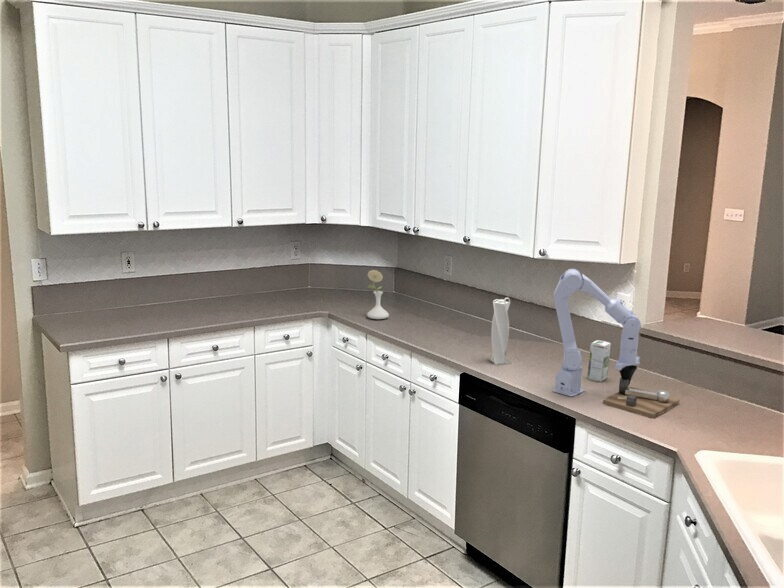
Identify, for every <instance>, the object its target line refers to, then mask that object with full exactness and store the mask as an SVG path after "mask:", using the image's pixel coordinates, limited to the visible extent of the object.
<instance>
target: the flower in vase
mask: <svg viewBox="0 0 784 588" xmlns="http://www.w3.org/2000/svg"><path fill="white" fill-rule="evenodd" d="M366 276H367V278H369V280H370V281H372V282H373V284H368V285H367V288H369V289H373V290H374V289H375V291H373V294H374V296H375V306H374V307H373V308H372V309H370V310H369V311H368V312H367V313H366V316H367V317H368V318H369V319H373V320H383V319H387V318H389V317H390V314H389V313H388V311H387V310H385V309H384V308H383V307H382V306H381V299H382V298H381V297H382V295H383V293H384V292H383V291H380V290H381V289H382V287H384V285H383V286H382V285H381V286H378V287H377V288H376V286H375V283H379V282H382V280H383V278H384V277H383V274H382V273H381V272H380V271H378V270H375V269H371V270H369V271H368V273H367V275H366Z"/></svg>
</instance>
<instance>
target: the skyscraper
mask: <svg viewBox="0 0 784 588" xmlns="http://www.w3.org/2000/svg"><path fill="white" fill-rule="evenodd" d="M506 300H508V301H506ZM492 305H493V316H492V320H491V333H490V334H491V335H490V336H491V349H492V354H491V357H490V358H489V361H490V362H491V361H492V362H491V363H492V364H494V365H495V364H498V365H512V363H511V362H510V361H509V360H507V347H508V342H509V336H510V335H509V334H510V319H509V313H508V311H509V308H510V305H511V299H510V298H509V297H504V299H498V298H496V299H494V300H493V301H492Z"/></svg>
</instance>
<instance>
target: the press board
mask: <svg viewBox="0 0 784 588" xmlns="http://www.w3.org/2000/svg"><path fill="white" fill-rule="evenodd" d="M628 388H631V389H636V390H642V391H646V390H645V389H641V388H637V387H633V386H628ZM647 391H648V390H647ZM648 392H650V391H648ZM602 404H603V405H605V406H610V407H612V408H616V409H620V410H623V411H626V412H629V413H633V414H636V413H637V415H639V414H641V415H640V416H643V415H644V416H643V417H646V416H647V418H650V417H651V418H650V419H653V418H654V419H656V418H657V417H659V416H661V415H662V413H663V412H664V413H665V411H666V412H668V411H670V410H671V409H673V408H674V407H676V406H678V405H680V399H678V398H674V397H671V396H669V401H668V402H659V401H657V400H655V399H649V398H644V397H638V396H633V395H627V394H621V393H619V391H618V392H616V393H614V394H612V395H610V396H607V397H606V398H603V400H602ZM672 407H673V408H672ZM670 408H671V409H670ZM667 410H668V411H667ZM664 413H663V414H664ZM660 414H661V415H660ZM658 415H659V416H658ZM655 417H656V418H655Z"/></svg>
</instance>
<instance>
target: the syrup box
mask: <svg viewBox="0 0 784 588" xmlns="http://www.w3.org/2000/svg"><path fill="white" fill-rule="evenodd" d="M611 346H612V344H611V342H608V341H606V340H597V339H596V340H595V341H593V342H591V343H590V348H589V356H588V357H589V359H588V367H587V368H588V369H587V378H586V379H588V380H589V381H590V380H591V381H596V382H600V383H602V382H603V381H605V380H607V379H608V373H609V363H610V356H611Z"/></svg>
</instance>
